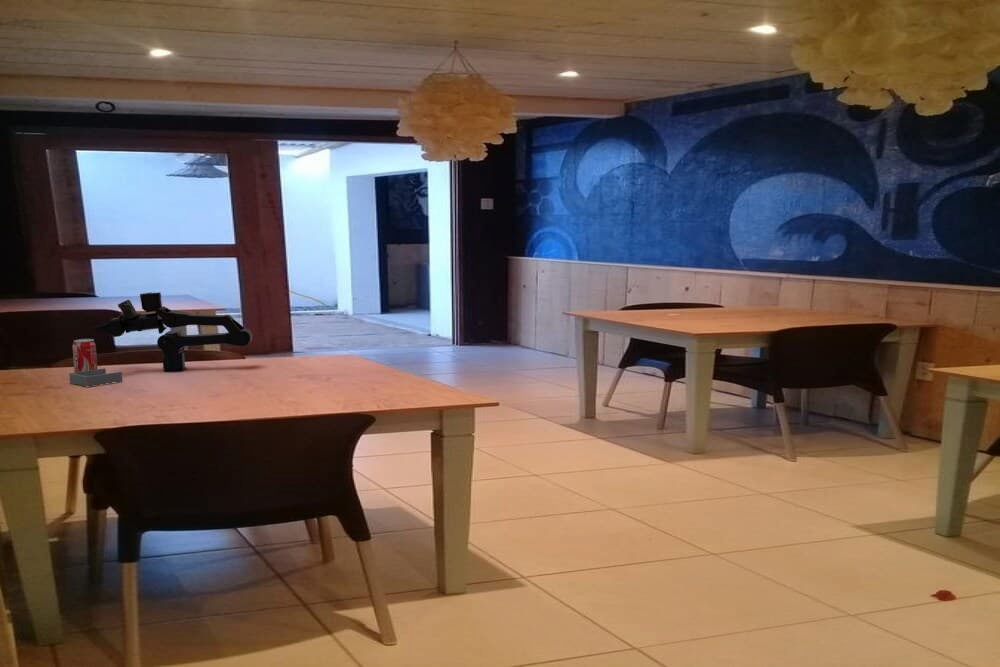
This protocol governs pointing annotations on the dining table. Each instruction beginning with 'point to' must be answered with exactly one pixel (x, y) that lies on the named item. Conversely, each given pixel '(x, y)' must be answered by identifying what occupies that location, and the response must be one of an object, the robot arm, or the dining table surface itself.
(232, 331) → the robot arm
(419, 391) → the dining table surface
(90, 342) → the soda can
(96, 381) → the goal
